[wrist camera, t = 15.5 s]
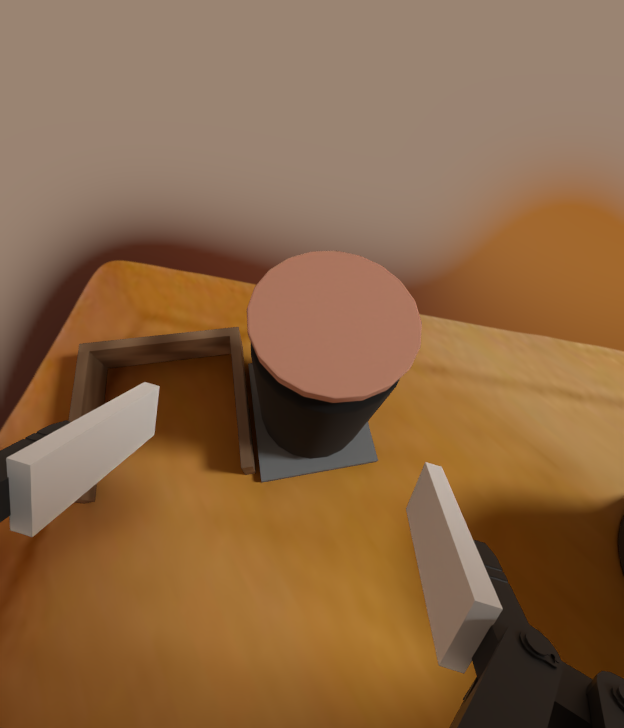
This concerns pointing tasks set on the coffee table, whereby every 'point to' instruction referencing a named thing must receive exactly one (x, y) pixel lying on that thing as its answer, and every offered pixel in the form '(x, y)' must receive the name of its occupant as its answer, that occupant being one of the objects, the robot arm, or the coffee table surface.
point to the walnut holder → (154, 350)
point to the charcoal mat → (286, 465)
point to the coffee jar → (328, 347)
